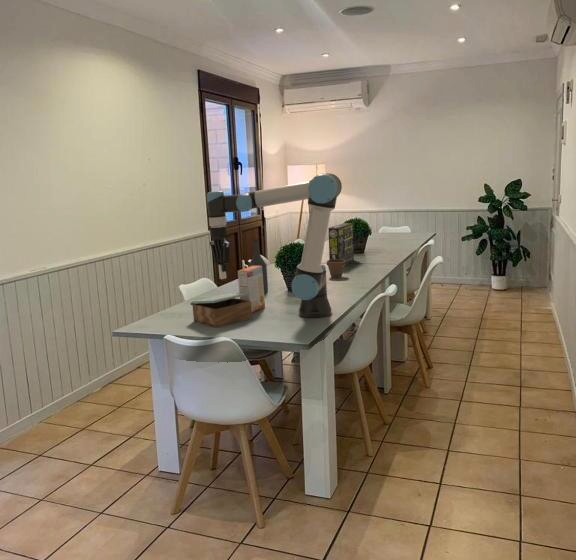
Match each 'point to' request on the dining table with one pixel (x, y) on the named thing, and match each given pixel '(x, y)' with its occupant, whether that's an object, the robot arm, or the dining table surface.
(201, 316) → the walnut chest
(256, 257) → the bottle
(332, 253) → the box
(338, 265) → the flower pot
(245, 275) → the cracker box
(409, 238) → the dining table surface
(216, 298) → the lid
